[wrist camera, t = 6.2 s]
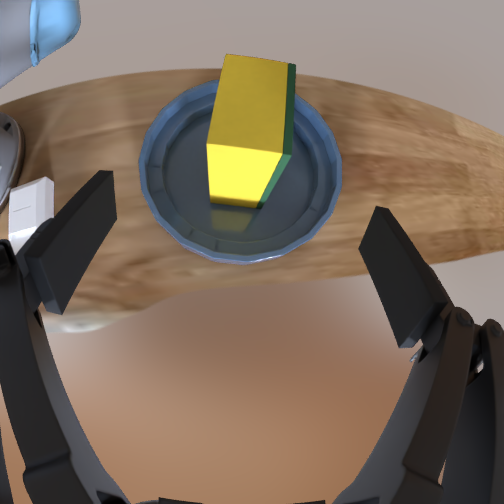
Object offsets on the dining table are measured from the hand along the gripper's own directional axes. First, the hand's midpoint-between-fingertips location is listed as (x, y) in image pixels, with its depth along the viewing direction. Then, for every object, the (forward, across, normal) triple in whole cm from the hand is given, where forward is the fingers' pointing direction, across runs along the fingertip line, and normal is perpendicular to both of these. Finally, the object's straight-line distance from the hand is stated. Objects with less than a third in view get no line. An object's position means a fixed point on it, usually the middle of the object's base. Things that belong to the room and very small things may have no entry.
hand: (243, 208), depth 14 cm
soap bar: (+8, -20, -9) cm, 23 cm away
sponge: (+13, 0, -3) cm, 13 cm away
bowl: (+13, 0, -4) cm, 14 cm away
